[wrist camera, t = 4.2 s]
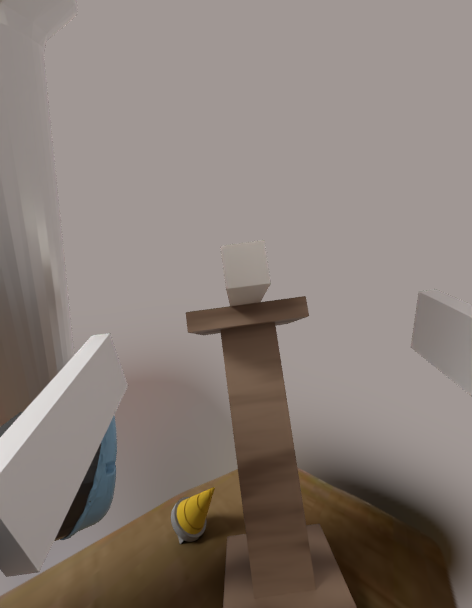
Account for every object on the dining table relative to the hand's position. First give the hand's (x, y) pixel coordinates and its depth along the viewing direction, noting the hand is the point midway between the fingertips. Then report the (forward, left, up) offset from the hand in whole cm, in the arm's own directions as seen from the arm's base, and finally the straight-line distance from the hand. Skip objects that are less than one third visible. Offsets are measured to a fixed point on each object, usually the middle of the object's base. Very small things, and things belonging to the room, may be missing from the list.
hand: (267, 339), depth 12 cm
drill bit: (-27, +20, -27) cm, 43 cm away
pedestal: (-12, +17, -26) cm, 34 cm away
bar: (-10, +15, +4) cm, 18 cm away
